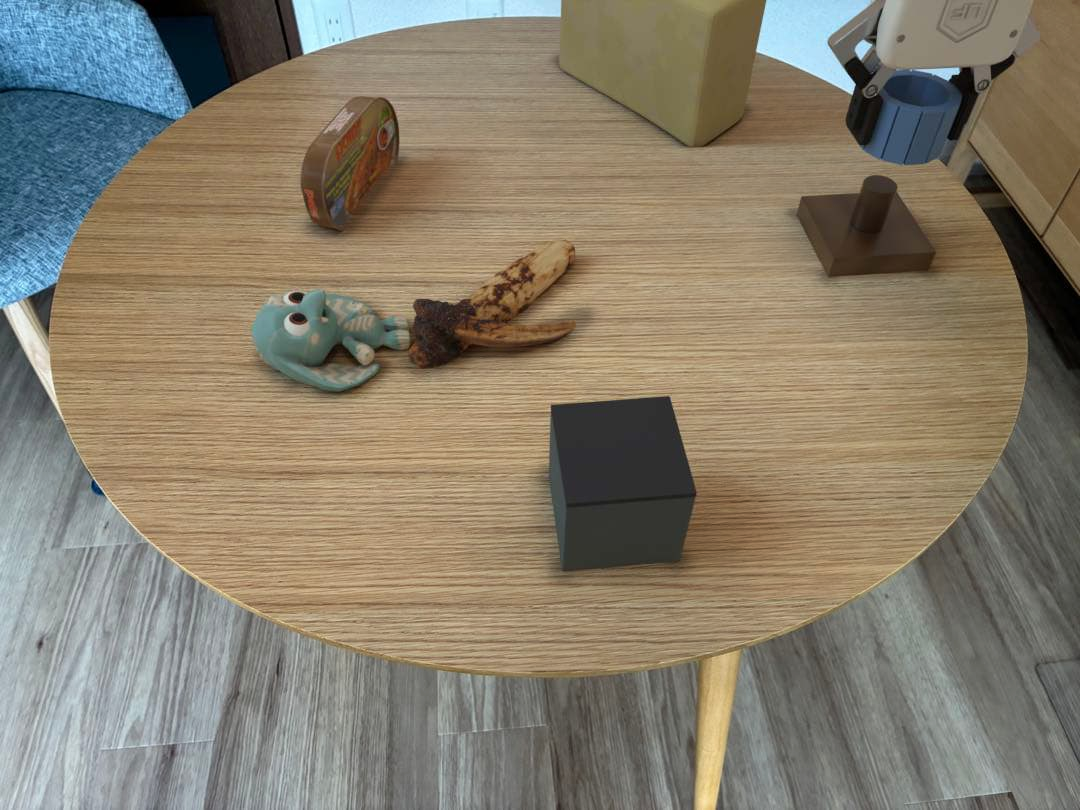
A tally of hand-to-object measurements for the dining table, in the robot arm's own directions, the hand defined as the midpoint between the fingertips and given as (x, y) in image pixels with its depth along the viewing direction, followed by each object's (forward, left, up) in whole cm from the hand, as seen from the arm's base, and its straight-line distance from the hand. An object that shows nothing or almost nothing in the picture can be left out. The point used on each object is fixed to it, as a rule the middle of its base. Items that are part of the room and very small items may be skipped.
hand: (901, 132), depth 69 cm
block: (+27, +27, -12) cm, 40 cm away
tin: (+45, -12, -12) cm, 48 cm away
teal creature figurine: (+46, +9, -12) cm, 48 cm away
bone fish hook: (+32, +7, -12) cm, 35 cm away
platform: (0, 0, -12) cm, 12 cm away
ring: (0, 0, -1) cm, 1 cm away
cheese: (+15, -28, -12) cm, 34 cm away
